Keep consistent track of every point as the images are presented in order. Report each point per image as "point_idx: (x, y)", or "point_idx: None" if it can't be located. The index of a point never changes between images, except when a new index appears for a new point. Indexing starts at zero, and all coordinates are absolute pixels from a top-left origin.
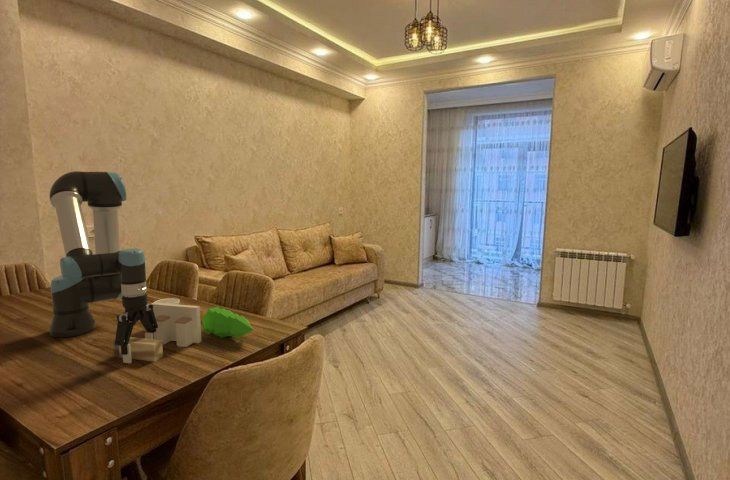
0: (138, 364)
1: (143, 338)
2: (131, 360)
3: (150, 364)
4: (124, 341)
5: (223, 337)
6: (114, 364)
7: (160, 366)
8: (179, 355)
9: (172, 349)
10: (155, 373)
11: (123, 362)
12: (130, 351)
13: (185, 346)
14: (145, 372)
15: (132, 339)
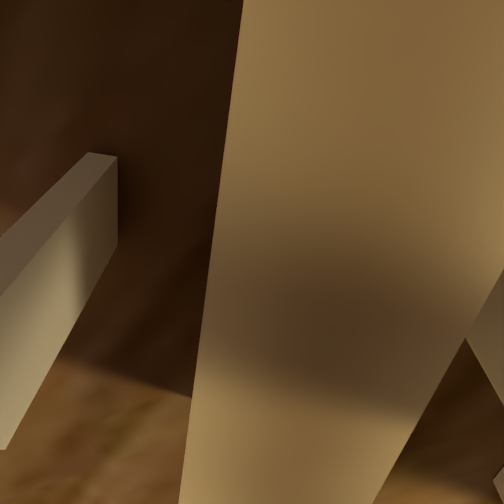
0: (112, 311)
1: (410, 426)
2: (108, 258)
3: (137, 394)
4: (235, 163)
5: None
6: (33, 46)
7: (122, 459)
8: None
9: (458, 417)
10: (17, 471)
11: (86, 158)
12: (55, 340)
13: (497, 479)
14: None
15: (372, 276)
